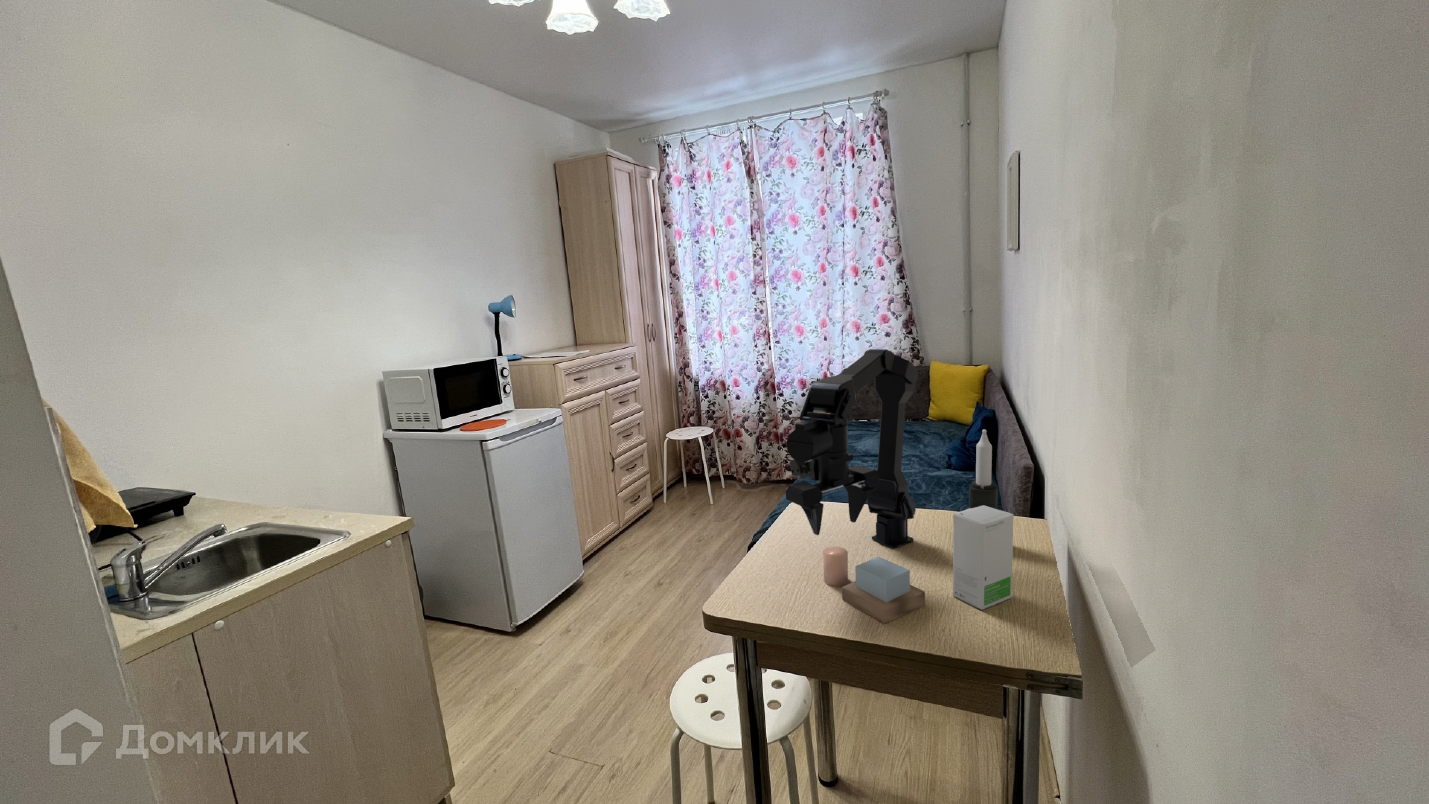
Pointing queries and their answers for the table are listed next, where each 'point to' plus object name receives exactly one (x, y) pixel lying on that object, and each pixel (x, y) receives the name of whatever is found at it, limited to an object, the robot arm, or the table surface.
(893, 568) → the block
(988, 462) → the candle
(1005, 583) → the skincare box
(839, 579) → the peach rounded capsule
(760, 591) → the table surface
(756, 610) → the table surface
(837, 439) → the robot arm
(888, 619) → the base slab
